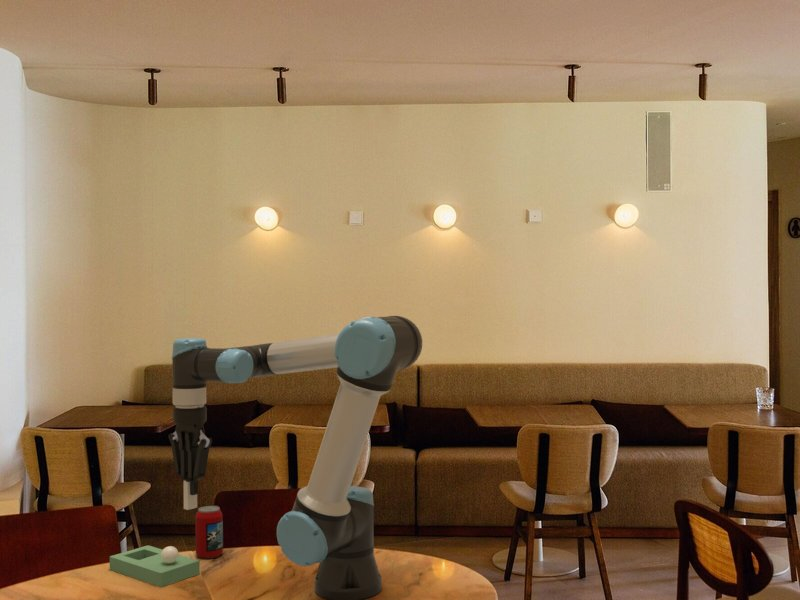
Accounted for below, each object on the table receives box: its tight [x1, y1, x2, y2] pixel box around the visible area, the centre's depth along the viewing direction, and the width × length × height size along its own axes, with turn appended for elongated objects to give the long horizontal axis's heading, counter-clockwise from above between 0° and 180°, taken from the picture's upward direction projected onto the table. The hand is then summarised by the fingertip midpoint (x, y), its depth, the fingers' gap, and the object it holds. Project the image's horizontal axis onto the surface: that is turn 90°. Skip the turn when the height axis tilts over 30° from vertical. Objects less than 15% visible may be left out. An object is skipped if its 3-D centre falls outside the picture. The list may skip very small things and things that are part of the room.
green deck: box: [109, 545, 201, 588], centre depth 204 cm, size 20×11×3 cm, turn 53°
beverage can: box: [194, 505, 224, 560], centre depth 216 cm, size 7×7×12 cm
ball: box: [161, 545, 180, 564], centre depth 200 cm, size 4×4×4 cm
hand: (190, 508), depth 195 cm, fingers closed
